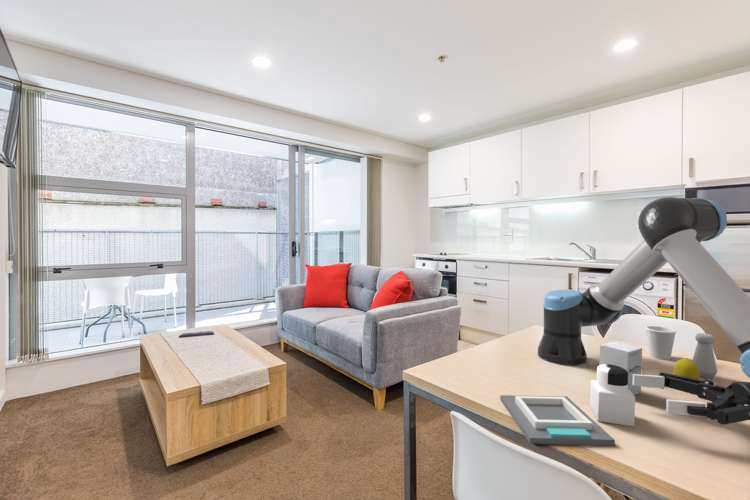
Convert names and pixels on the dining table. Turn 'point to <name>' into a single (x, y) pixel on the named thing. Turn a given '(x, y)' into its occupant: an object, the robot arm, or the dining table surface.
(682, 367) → the lemon
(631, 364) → the supplement box
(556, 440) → the dock
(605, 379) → the medicine bottle
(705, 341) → the salt shaker
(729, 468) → the dining table surface
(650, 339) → the dixie cup
